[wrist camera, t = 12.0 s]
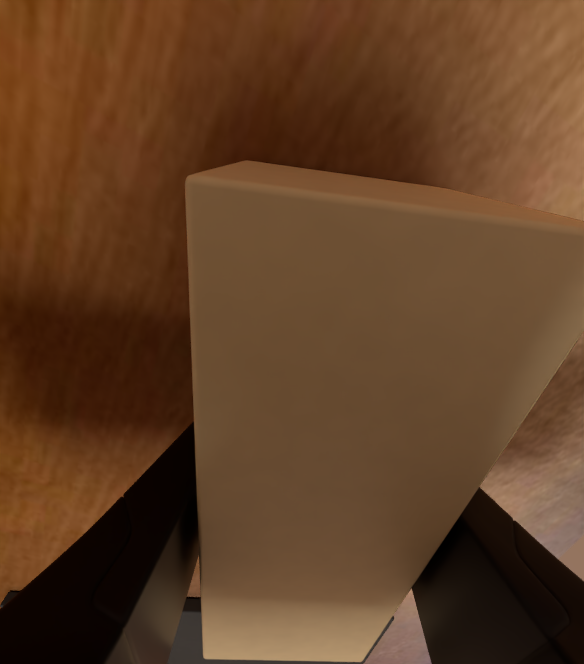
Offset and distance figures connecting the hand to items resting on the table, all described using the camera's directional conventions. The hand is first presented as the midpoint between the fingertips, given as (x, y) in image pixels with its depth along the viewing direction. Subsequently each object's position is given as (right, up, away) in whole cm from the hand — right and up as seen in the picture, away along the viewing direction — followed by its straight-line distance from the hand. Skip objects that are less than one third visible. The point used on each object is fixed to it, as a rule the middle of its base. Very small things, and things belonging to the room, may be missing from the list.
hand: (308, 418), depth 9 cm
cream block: (+1, +5, -4) cm, 6 cm away
